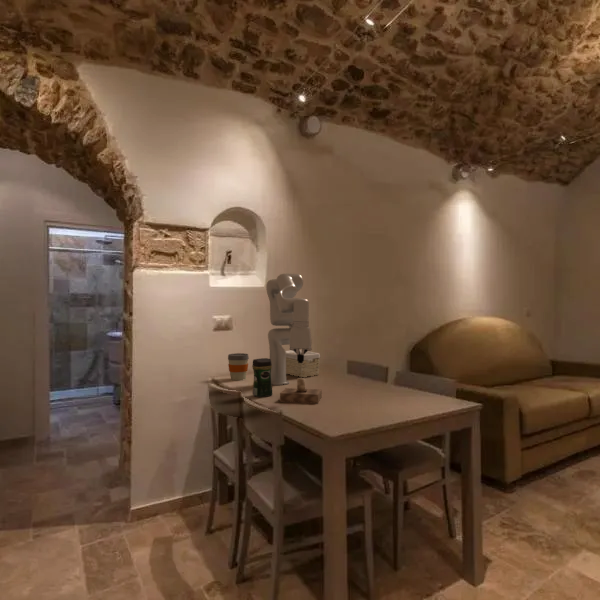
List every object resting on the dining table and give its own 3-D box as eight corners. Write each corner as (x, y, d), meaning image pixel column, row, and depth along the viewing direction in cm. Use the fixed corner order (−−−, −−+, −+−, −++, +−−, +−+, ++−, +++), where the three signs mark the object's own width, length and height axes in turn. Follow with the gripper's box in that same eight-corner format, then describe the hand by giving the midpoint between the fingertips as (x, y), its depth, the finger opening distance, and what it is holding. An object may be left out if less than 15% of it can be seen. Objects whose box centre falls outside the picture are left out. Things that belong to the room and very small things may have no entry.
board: (280, 401, 202) (280, 393, 202) (285, 396, 214) (285, 388, 214) (318, 403, 198) (318, 394, 198) (321, 397, 210) (321, 389, 210)
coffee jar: (267, 393, 222) (267, 356, 222) (274, 395, 215) (274, 358, 215) (250, 395, 217) (250, 358, 217) (256, 398, 210) (256, 360, 210)
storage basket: (321, 375, 274) (321, 352, 274) (301, 378, 263) (301, 354, 264) (298, 371, 292) (298, 349, 292) (278, 373, 282) (278, 351, 282)
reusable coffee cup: (224, 380, 257) (224, 355, 257) (232, 377, 270) (232, 353, 270) (244, 381, 255) (244, 356, 255) (251, 377, 267) (251, 353, 267)
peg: (296, 400, 204) (296, 379, 204) (297, 398, 208) (297, 377, 208) (304, 400, 204) (304, 379, 204) (306, 398, 208) (306, 378, 208)
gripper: (283, 325, 204) (283, 363, 205) (315, 325, 201) (314, 364, 202) (287, 323, 211) (287, 360, 212) (317, 324, 209) (317, 362, 209)
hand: (300, 362), depth 207 cm, fingers closed
